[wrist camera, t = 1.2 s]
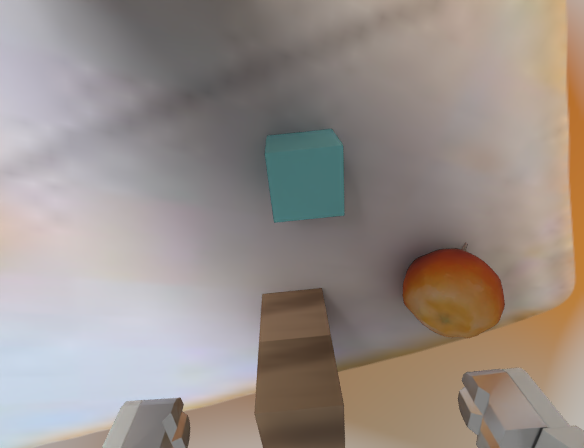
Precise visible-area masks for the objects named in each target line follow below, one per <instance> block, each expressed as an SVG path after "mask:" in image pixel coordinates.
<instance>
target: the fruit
mask: <svg viewBox="0 0 584 448" xmlns="http://www.w3.org/2000/svg"><path fill="white" fill-rule="evenodd" d="M467 245H468V244H467V243H465V245H464V246H463V248H462V249H461V250H460V249H456V248H455V249H440V250H436V251H434V252H431V253H429V254H427V255H424V256H421V257H419V258H417V259H415V260H414V262H413V263H412V264H411V265H410V267H409V268H408V270H407V273H406V276H405V279H404V282H403V301H404V304H405V305H406V307H407V308H408V309H409V310H410V311H411V312H412V313H413V314H414V316H415V317H416V318H417V319H418V320H419V321H420V322H421V323H422V324H423V325H425V326H426V327H427V328H429V329H430V330H432V331H433V332H435V333H437V334H440V335H442V336H446V337H465V338H471V337H474V336H477V335H479V334H480V333H482V332H484V331H485V330H487V329H490V328H491V327H493V326H495V325H496V324H497V323H498V322H499V320H500V318H501V315H502V312H503V310H504V305H505V302H504V295H503V289H502V285H501V281H500V279H499V277H498V275H497V274H496V273H495V272H494V271H493V270H492V269H491V268H490V267H489V266H488V265H487V264H486V263H485V262H484V261H482V260H481V259H480V258H478V257H476V256H474V255H472V254H471V253H468V252H466V248H467Z"/></svg>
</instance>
